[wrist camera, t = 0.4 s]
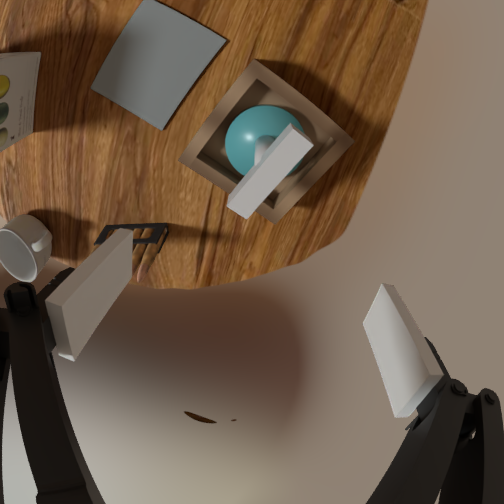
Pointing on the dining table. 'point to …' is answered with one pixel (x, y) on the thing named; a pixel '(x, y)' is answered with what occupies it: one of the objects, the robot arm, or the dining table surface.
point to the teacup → (25, 247)
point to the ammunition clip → (139, 243)
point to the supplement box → (17, 95)
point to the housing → (275, 93)
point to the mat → (156, 62)
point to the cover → (263, 153)
